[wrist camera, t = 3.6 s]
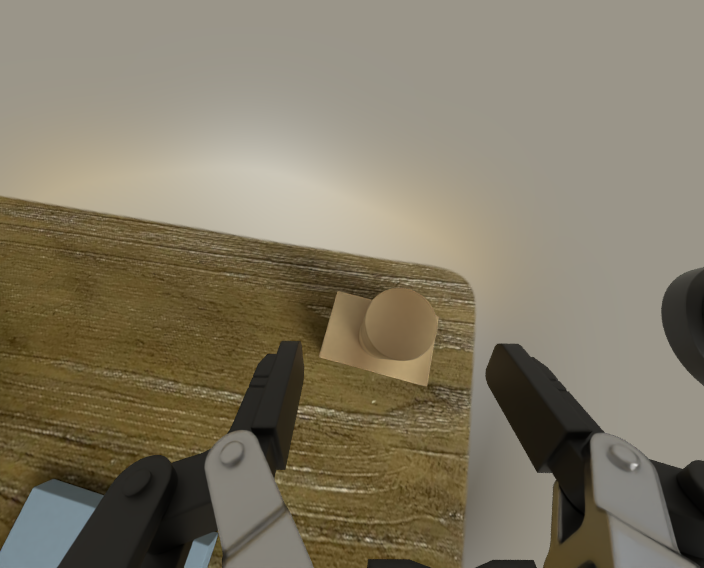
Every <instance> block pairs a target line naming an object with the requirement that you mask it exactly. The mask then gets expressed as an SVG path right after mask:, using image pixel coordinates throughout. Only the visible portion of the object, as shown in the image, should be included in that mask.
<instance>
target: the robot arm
mask: <svg viewBox="0 0 704 568" xmlns="http://www.w3.org/2000/svg"><path fill="white" fill-rule="evenodd" d="M703 320H704V302H703ZM303 380H304V363H303V354H302V345H301V341H282V342H281V343H280V346H279V349H278V352H277V354H267V355H266V356H265V357H264V358H263V359H262V360H261V361H260V363H259V364H258V366H257V368H256V370H255V373H254V375H253V378H252V380H251V382H250V384H249V388H248V389H247V391H246V394H245V396H244V398H243V401H242V403H241V405H240V408H239V410H238V413H237V415H236V417H235V420H234V422H233V424H232V426H231V428H230V430H229V432H228V433H227V434H226V435H225V436H223V437H222V438H221V439H219V440H218V441H217V442H216V443H215V444H214V446H213V447H212V448H211V449H209V450H207V451H206V452H203V453H201V454H198V455H195V456H191V457H188V458H185V459H182V460H179V461H176V462H173V463H171V462H170V461H169V460H168V459H167V458H166V457H164V456H161V455H153V456H148V457H145V458H143V459H140V460H139V461H137V462H135V463H133V464H132V465H130V466H129V467H128V468H127V469H125V470H124V471H123V472H122V473H121V474H120V475H119V476H118V477H117V478H116V479H115V480H114V482H113V483H112V484H111V486H110V487H109V489H108V490H107V492H106V493H105V495H104V496H103V498H102V499H101V501H100V503H99V504H98V506H97V507H96V509H95V510H94V512H93V513H92V515H91V516H90V518H89V519H88V521H87V522H86V524H85V525H84V527H83V528H82V530H81V532H80V533H79V535H78V536H77V538H76V539H75V541H74V542H73V544H72V545H71V547H70V548H69V550H68V551H67V553H66V554H65V556H64V558H63V559H62V561H61V562H60V564H59V565H58V567H57V568H184V566H185V563H186V560H187V558H188V555H189V552H190V549H191V546H192V543H193V541H194V540H195V539H197V538H199V537H202V536H204V535H207V534H209V533H212V532H214V531H216V530H218V532H219V536H220V541H221V545H222V551H223V558H222V568H314V567H313V565H312V562H311V560H310V557H309V555H308V553H307V550H306V548H305V546H304V543H303V541H302V539H301V536H300V534H299V532H298V529H297V527H296V525H295V522H294V520H293V518H292V516H291V513H290V511H289V509H288V508H287V506H286V505H285V503H284V501H283V499H282V496H281V494H280V492H279V489H278V487H277V484H276V482H275V480H274V477H275V473H276V470H285V469H286V464H287V459H288V454H289V449H290V444H291V439H292V434H293V430H294V425H295V420H296V415H297V410H298V405H299V400H300V395H301V390H302V386H303ZM486 381H487V384H488V386H489V388H490V390H491V391H492V393H493V395H494V397H495V398H496V400H497V402H498V404H499V406H500V407H501V409H502V411H503V412H504V414H505V416H506V418H507V420H508V422H509V423H510V425H511V427H512V429H513V430H514V432H515V434H516V436H517V438H518V439H519V441H520V443H521V444H522V446H523V448H524V450H525V451H526V453H527V455H528V457H529V459H530V461H531V462H532V464H533V466H534V468H535V469H536V471H537V473H553V475H554V477H555V478H556V481H555V483H554V486H553V502H552V524H551V543H550V549H549V552H548V555H547V557H546V560H545V562H544V566H543V568H704V461H701V460H696V461H693V462H691V463H690V464H689V465H687V466H686V467H685V468H684V469H681V468H677V467H674V466H670V465H667V464H664V463H660V462H657V461H654V460H650V459H648V458H647V457H646V456H645V455H644V454H643V453H642V452H641V451H640V450H638V449H637V448H636V447H634V446H633V445H631V444H630V443H628V442H627V441H625V440H623V439H621V438H619V437H616V436H614V435H611V434H607V433H605V432H604V431H603V430H602V429H601V428H600V427H599V426H598V425H597V423H596V422H595V421H594V420H593V419H592V418H591V417H590V415H589V414H588V413H587V412H586V411H585V410H584V409H583V407H582V406H581V405H580V404H579V403H578V402H577V401H576V399H574V397H573V396H572V395H571V394H570V393H569V392H567V391H566V388H565V387H564V386H563V385H562V384H561V382H559V381H558V379H557V378H556V377H555V375H554V374H553V373H552V372H551V371H550V370H549V369H548V367H546V366H545V365H544V364H542V363H541V362H539V361H538V360H537V359H535V358H534V357H530V356H529V355H528V353H527V352H526V351H525V350H524V349H523V348H522V346H521V345H519V344H497V345H496V346H495V348H494V350H493V353H492V356H491V358H490V361H489V363H488V366H487V368H486ZM367 568H430V567H428V566H425V565H422V564H420V563H417V562H414V561H412V560H407V559H368V565H367ZM476 568H537V567H536V565H535V563H534V560H492V561H489V562H487V563H485V564H483V565H480V566H478V567H476Z"/></svg>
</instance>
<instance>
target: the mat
mask: <svg viewBox="0 0 704 568" xmlns="http://www.w3.org/2000/svg"><path fill="white" fill-rule="evenodd" d="M103 496H104V495H101V494H98V493H95V492H92V491H89V490H86V489H83V488H80V487H77V486H74V485H71V484H68V483H65V482H62V481H59V480H56V479H52V480H50V481H48V482H45V483H43V484H40V485H38V486H36V487H34V488H33V489H32V491H31V493H30V495H29V497H28V499H27V501H26V503H25V504H24V506H23V508H22V510H21V512H20V514H19V516H18V518H17V520H16V522H15V524H14V526H13V528H12V530H11V532H10V534H9V535H8V537H7V539H6V541H5V543H4V545H3V547H2V549H1V551H0V568H57V567H58V565H59V564H60V562H61V561H62V559H63V558H64V556H65V554H66V553H67V551H68V550H69V548H70V547H71V545H72V544H73V542H74V541H75V539H76V538H77V536H78V535H79V533H80V532H81V530H82V528H83V527H84V525H85V524H86V522H87V521H88V519H89V518H90V516H91V515H92V513H93V512H94V510H95V509H96V507H97V506H98V504H99V503H100V501H101V499H102V498H103ZM217 536H218V533H217V532H212V533H209V534H207V535H204V536H202V537H199V538H197V539H195V540H194V541H193V543H192V546H191V549H190V552H189V555H188V558H187V560H186V563H185V566H184V568H207V567H208V564H209V560H210V557H211V554H212V551H213V548H214V545H215V542H216V539H217Z"/></svg>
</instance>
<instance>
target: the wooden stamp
mask: <svg viewBox="0 0 704 568" xmlns="http://www.w3.org/2000/svg"><path fill="white" fill-rule="evenodd" d="M437 324H438V317H437V316H436V314H435V312H434V309H433V308H432V306H431V304H430V303H429V302H428V301H427V300H426V299H425V298H424V297H423V296H422V295H421V294H419V293H417V292H415V291H413V290H410V289H407V288H392V289H388V290H385V291H383V292H381V293H380V294H378V295H377V296H376V297H375V298H374V299H373V300H371V299H367V298H363V297H359V296H356V295H352V294H348V293H344V292H340V291H338V292H337V295H336V298H335V302H334V305H333V309H332V312H331V316H330V319H329V323H328V326H327V330H326V333H325V337H324V340H323V344H322V347H321V351H320V354H319V357H320V358H324V359H328V360H331V361H335V362H338V363H342V364H346V365H349V366H353V367H357V368H360V369H364V370H368V371H371V372H375V373H379V374H382V375H386V376H389V377H393V378H397V379H400V380H404V381H408V382H411V383H415V384H419V385H422V386H427V384H428V378H429V372H430V366H431V360H432V354H433V348H434V342H435V338H436V334H437Z"/></svg>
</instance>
